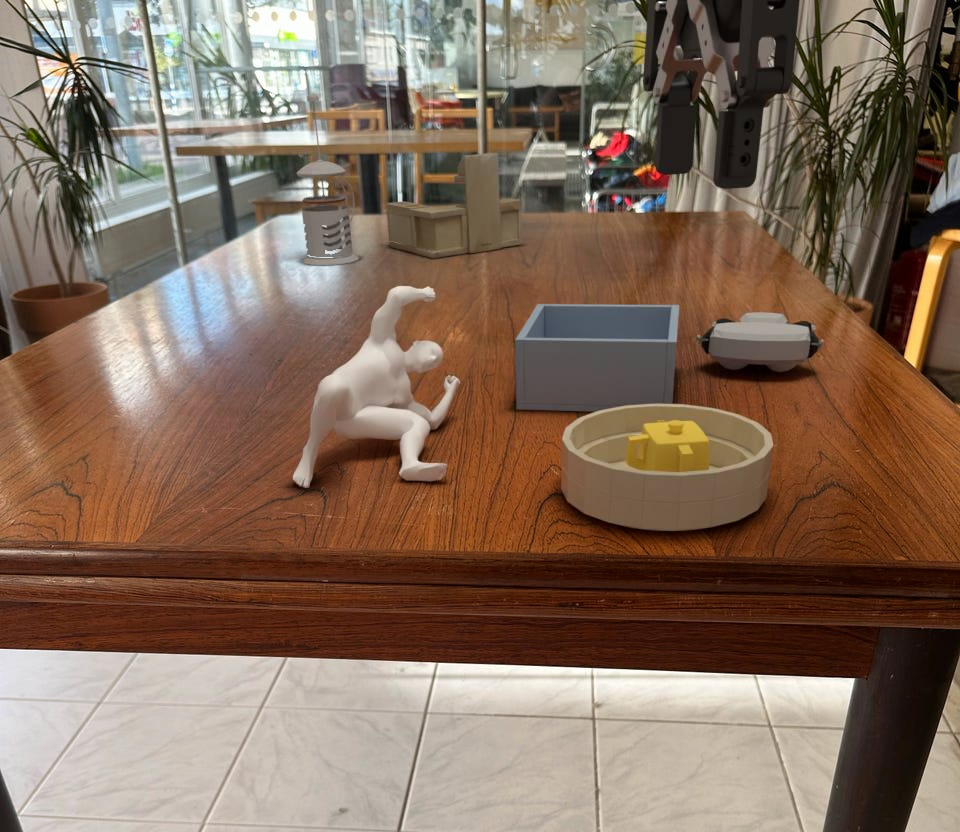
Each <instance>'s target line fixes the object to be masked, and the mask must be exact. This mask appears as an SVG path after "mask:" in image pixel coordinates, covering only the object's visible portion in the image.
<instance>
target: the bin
mask: <svg viewBox="0 0 960 832" xmlns="http://www.w3.org/2000/svg"><path fill="white" fill-rule="evenodd" d="M679 318H680V305H679V304H602V303H601V304H599V303H598V304H597V303H596V304H594V303H593V304H592V303H591V304H589V303H588V304H586V303H582V304H581V303H579V304H577V303H537V304H536V306H535V307H534V309H533V311H532V312H531V314H530V316H529V317H528V319H527V320H526V322H525V324H524V325H523V327H522V329H521V330H520V332H519V333H518V335H517V336H516V337H515V341H514V342H515V343H514V344H515V346H514V347H515V403H516V404H515V405H516V406H515V408H516V409H515V410H520V411H521V410H522V411H523V410H525V411H555V412H556V411H557V412H591V413H594V412H596V411H600V410H605V409H610V408H615V407H621V406H628V405H641V404H673V402H674V401H673V400H674V385H675V372H676V360H677V346H678V345H677V344H678V331H679Z"/></svg>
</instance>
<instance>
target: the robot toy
mask: <svg viewBox="0 0 960 832" xmlns="http://www.w3.org/2000/svg"><path fill="white" fill-rule="evenodd" d="M738 320H739V321H737V322H736V321H734V320H732V319H729V318H726V317H724V318H723V317H721V318H718V319H716V321H713V322H712V323H711V325H710V326H711V328H709V329H708V330H707V331H706V332H705V333H704V334H703V335H702V337H701V335H700V334H697V335H696V341H698V344H699V345H700V344H701V345H700V347H701V348H702V350H703V351H704V353H705V354H707V355H709V358H710V359H711V360H714V361H718V364H719V365H721V366H722V367H723V368H724V369H727V370H730V371H736V370H741V369H743V368H745V367H746V366H748V365H764V366H765V367H767V368H768V369H769V370H770V371H773V372H777V373H783V372H788V371H790V370H791V369H794V368H795V367H796V366H797V365H798V364H805V362H806V360H807V359H812V358H813V356H815V354H816V353H818V352H819V349H822V348H823V345H824V341H825V340H824V339H819V337H818V336H817V334H816V333H815V332H816V330H817V325H813V324H812V323H811V322H810V321H808V320H800V321H796V322H793V323H788V322H789V320H788V319H787V317H786V316H785V315H784V314H783V313H778V312H764V311H763V312H761V311H759V312H756V311H755V312H745V313H744V314H743V315H742V316H741V317H740V318H739V319H738Z"/></svg>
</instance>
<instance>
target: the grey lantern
mask: <svg viewBox="0 0 960 832" xmlns="http://www.w3.org/2000/svg"><path fill="white" fill-rule="evenodd" d="M306 99H307V101H306V102H312V108H313V119H314V126H315V136H316V143H317V144H316V145H317V152H318V159H317V160H316V161H313V162H309V163H307V164H306V165H304V166H303V167H302V168H300V169H299V170H297V172H296V175H297V177H299V178H320V181H321V189H322V195H315V196H314V195H311V196H306V197H304V198H303V199H302V202H303V203H304V204H307V205H316V206H308V207H304V208H302V209H301V217H302V223H303V225H304V228H303V231H304V234H305V236H304V240H305V242H306V244H305V248H306V256H305V257H304V259H302V261H301V262H302V263H303V262H304V263H303V264H305V265H311V266H334V265H344V264H350V263H353V262H354V263H355V262H357V261H358V260H359V259H360V257H359V256H358V255H357V254H356V253H354V252H353V244H352V243H353V242H352V233H351V232H352V231H351V222H352V221H353V219H354V215H355V207H356V202H355V195H354V191H353V188H352V185H351V184H350V182H349V181H348V179H347V180H346V179H345V178H344V177H343V178H341V179H338V178H337V176H338V177H339V176H343V175H345V174H346V171H347V170H346V169H345V168H343V167H342V166H340V164H337V163H335V162H331V161H326V160H323V159H321V151H320V143H319V142H320V141H319V135H318V134H319V133H318V126H317V125H318V124H317V117H316V108H315V102H319V101H320V97H319V95H318V94H317V93H316V92H309V94H308V95H307V96H306ZM330 177H333V179H332V181H333V187H334V188H336V189H341V188H342V190H343V193H344V195H339V194H333V195H332V194H331V195H326V194H325V189H324V179H323V178H330ZM336 181H337V182H339V184H340V186H338V185H336ZM343 182H346V184H347V185H348V187H349V189H350V192H351V196H352V213H351V217H350V212H349V206H348V205H349V204H348V196H347V191H346V189H345V186H344V184H343ZM344 201H345V205H341V209H339V205H335V204H338V203H343V202H344ZM342 229H343V230H342ZM343 237H344V239H342V238H343ZM344 245H345V247H343V246H344ZM336 249H342V250H341V251H340V252H338V253H335V254H332V255H330V254H325V250H327V251H333V250H336ZM351 253H352V254H351ZM307 254H308V255H310V256H316V257H333V258H314V257H309V256H307ZM340 256H341V257H340Z"/></svg>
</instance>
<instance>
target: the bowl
mask: <svg viewBox="0 0 960 832" xmlns="http://www.w3.org/2000/svg"><path fill="white" fill-rule="evenodd" d="M658 420H664V421H665V422H669V421H672V420H679V421H693V422H695V423H696V424H697V425H698V426H699V427H700V429H701V430H702V431H703V432H704V434H705V435H706V436H707V438H708V440H709V470H702V471H689V472H662V471H644V470H638V469H635V468H632V467H630V466H628V465H627V463H626V453H627V443H628V437H630V436H637V435H642V430H643V425H644V424H645V423H657V421H658ZM639 449H640V444H637V457H639ZM773 454H774V440H773V435H772V433H771V432H770V431H769V430H767V429H766V428H765V427H764V426H763V425H762V424H761V423H759V422H757V421H755V420H753V419H750V418H748V417H745V416H744V415H741V414H739V413H734V412H730V411H727V410H724V409H719V408H715V407H709V406H708V407H707V406H701V405H700V406H699V405H691V404H684V403H672V404H641V405H628V406H621V407H615V408H610V409H605V410H600V411H596V412H591V413H589V414H586V415H583V416H580V417H578V418H577V419H575V420H574V421H573V422H571V423H570V424H568V425H567V426H566V427H565V428H564V431H563V433H562V436H561V460H560V461H561V463H560V464H561V467H560V469H561V470H560V471H561V475H560V476H561V477H560V478H561V479H560V480H561V481H560V490H561V492H562V494H563V496H564V498H565V500H566V501H567V503H568V504H570V505H571V506H572V507H574V508H575V509H577V510H578V511H580V512H581V513H583V514H584V515H587V516H590V517H593V518H595V519H597V520H601V521H603V522H606V523H609V524H614V525H618V526H622V527H626V528H631V529H638V530H645V531H654V532H655V531H656V532H685V531H695V530H703V529H704V530H705V529H709V528H714V527H718V526H722V525H727V524H730V523H734V522H737V521H740V520H742V519H744V518H746V517H748V516H749V515H752V514H753V513H755V512H757V511H758V510H759V509H760V507H762V505H763V503H764V502H765V501H766V499H767V497H768V491H769V490H768V489H769V483H770V476H771V475H770V474H771V468H772V461H773Z"/></svg>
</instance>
